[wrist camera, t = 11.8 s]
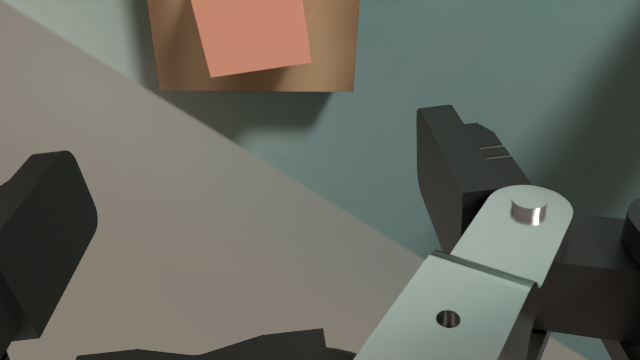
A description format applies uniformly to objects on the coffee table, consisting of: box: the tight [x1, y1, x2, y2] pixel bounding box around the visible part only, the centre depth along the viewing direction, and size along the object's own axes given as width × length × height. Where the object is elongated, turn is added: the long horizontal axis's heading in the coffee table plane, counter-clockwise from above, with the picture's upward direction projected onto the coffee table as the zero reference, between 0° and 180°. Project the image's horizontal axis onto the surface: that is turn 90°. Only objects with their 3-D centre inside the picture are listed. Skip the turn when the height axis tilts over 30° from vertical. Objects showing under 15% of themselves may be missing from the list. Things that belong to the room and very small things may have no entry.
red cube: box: [191, 0, 312, 77], centre depth 27 cm, size 5×5×6 cm
